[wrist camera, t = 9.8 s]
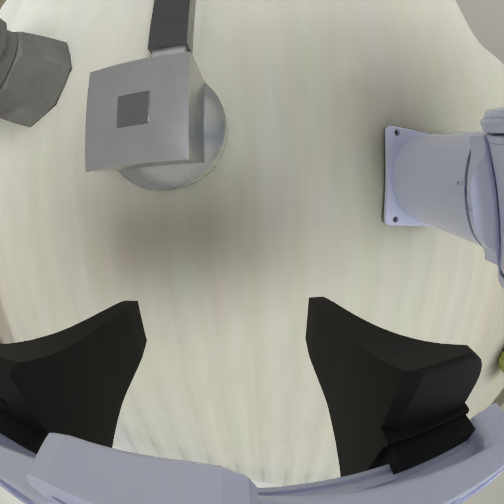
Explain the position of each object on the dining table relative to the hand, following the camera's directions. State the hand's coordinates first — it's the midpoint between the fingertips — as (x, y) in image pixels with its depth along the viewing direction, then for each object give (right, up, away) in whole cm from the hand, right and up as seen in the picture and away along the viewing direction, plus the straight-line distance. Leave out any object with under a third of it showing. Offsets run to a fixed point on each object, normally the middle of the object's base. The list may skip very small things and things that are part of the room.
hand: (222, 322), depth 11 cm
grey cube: (-4, +11, +4) cm, 13 cm away
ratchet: (-5, +18, +5) cm, 19 cm away
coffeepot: (-20, +20, +4) cm, 28 cm away
